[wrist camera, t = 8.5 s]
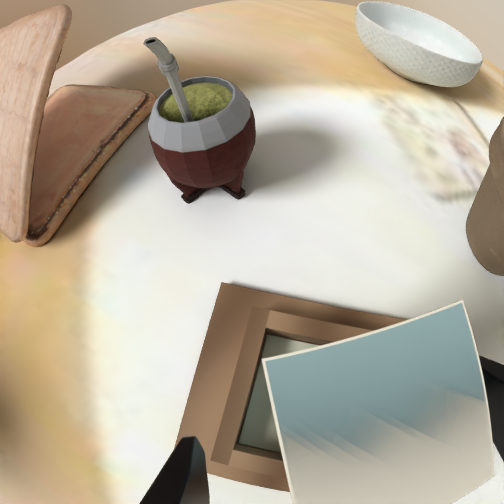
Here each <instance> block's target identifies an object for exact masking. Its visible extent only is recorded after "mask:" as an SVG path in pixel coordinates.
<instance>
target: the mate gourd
mask: <svg viewBox="0 0 504 504" xmlns="http://www.w3.org/2000/svg"><path fill="white" fill-rule="evenodd" d="M143 44H144V45H146V46H147V47H148V48H149V49H150V50H151V51H152V52H153V53H154V54H155V55H156V56H157V57H158V62H157V63H158V66H159V67H160V70H161V72H162V74H163V75H164V76H165V77H167V80H168V82H169V85H170V88H168V89H166V90H165V91H164V92H163V93H162V94H161V95H160V96H159V98H158V99H157V100H156V101H155V103H154V106H153V108H152V112H151V115H150V119H149V122H148V130H149V138H150V141H151V144H152V147H153V150H154V153H155V156H156V159H157V161H158V162H159V164H160V166H161V167H162V168H163V170H164V171H165V172H166V174H167V175H168V177H169V178H170V180H171V182H172V183H173V184H174V185H175V186H176V187H177V188H178V189H180V190H181V191H182V192H183V193H184V194H183V195H182V196H181V197H182V198H183V200H184V201H185V202H186V203H191V202H192V201H193V200H194V199H196V198H197V197H198V196H199V195H200V194H201V193H202V192H204V191H205V190H206V189H207V188H210V187H217V186H219V187H221V188H222V189H224V190H225V191H226V192H228V193H229V194H230V195H232V196H233V197H235V198H236V199H238V200H239V199H241V198H242V197H243V196H244V195H245V190H244V189H242V188H241V183H242V178H243V169H244V168H245V166H246V164H247V162H248V160H249V157H250V155H251V153H252V150H253V147H254V144H255V137H256V130H255V119H254V114H253V111H252V108H251V106H250V102H249V100H248V99H247V98H246V97H245V95H244V94H243V93H242V92H241V91H240V90H239V88H238V87H237V86H235V85H234V84H233V83H231V82H229V81H227V80H225V79H222V78H220V77H211V76H201V77H194V78H189V79H186V80H184V81H181V82H180V79H179V76H178V73H177V72H178V69H179V67H178V64H177V61H176V59H175V57H174V56H173V55H172V54H170V52H169V51H168V49H167V47H166V46H165V45H164V44H163V43H162V42H161V41H160V40H159V39H157V38H156V37H152V38H148V39H146V40H145V41H144V43H143Z"/></svg>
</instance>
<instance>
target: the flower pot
mask: <svg viewBox="0 0 504 504" xmlns="http://www.w3.org/2000/svg"><path fill="white" fill-rule="evenodd" d="M489 160H490V165H489V167H488V170H487V172H486V174H485V177H484V179H483V181H482V183H481V186H480V188H479V190H478V192H477V195H476V197H475V200H474V202H473V204H472V207H471V209H470V212H469V214H468V217H467V221H466V234H467V239H468V242H469V245H470V248H471V250H472V252H473V254H474V256H475V257H476V259H477V260H478V261H479V263H480V264H481V265H482V266H483V267H484V268H485V269H487V270H488V271H489V272H491V273H493V274H496V275H504V117H503V118H502V120H501V122H500V124H499V126H498V127H497V129H496V130H495V132H494V134H493V135H492V137H491V140H490V145H489Z"/></svg>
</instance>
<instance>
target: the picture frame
mask: <svg viewBox="0 0 504 504" xmlns="http://www.w3.org/2000/svg"><path fill="white" fill-rule="evenodd" d="M403 321H406V320H404V319H398V318H393V317H387V316H382V315H376V314H371V313H365V312H360V311H355V310H350V309H345V308H340V307H334V306H329V305H324V304H320V303H315V302H310V301H305V300H300V299H295V298H291V297H286V296H281V295H277V294H272V293H267V292H263V291H258V290H254V289H249V288H245V287H241V286H236V285H232V284H227V283H223V282H222V283H221V286H220V289H219V293H218V296H217V299H216V303H215V306H214V310H213V313H212V316H211V320H210V323H209V327H208V330H207V333H206V337H205V340H204V344H203V347H202V351H201V354H200V358H199V361H198V365H197V368H196V372H195V375H194V379H193V382H192V386H191V389H190V393H189V396H188V400H187V404H186V407H185V411H184V415H183V418H182V422H181V425H180V429H179V433H178V437H177V440H176V444H175V447H176V445H177V444H178V442H179V441H180V439H181V438H182V437H184V436H196V437H197V439H198V440H199V442H200V444H201V446H202V447H203V449H204V452H205V459H206V469H207V473H209V474H213V475H216V476H220V477H223V478H227V479H231V480H234V481H238V482H242V483H247V484H251V485H256V486H260V487H265V488H270V489H275V490H281V491H287V492H290V489H289V485H288V480H287V476H286V471H285V466H284V462H283V457H282V453H281V448H280V444H279V439H278V434H277V430H276V425H275V420H274V416H273V411H272V406H271V402H270V397H269V392H268V387H267V383H266V378H265V373H264V368H263V363H262V359H264V358H269V357H274V356H278V355H283V354H288V353H292V352H296V351H301V350H305V349H309V348H313V347H317V346H321V345H325V344H329V343H333V342H336V341H340V340H344V339H347V338H351V337H354V336H358V335H361V334H365V333H368V332H372V331H375V330H378V329H381V328H385V327H388V326H391V325H394V324H397V323H400V322H403ZM174 449H175V448H174Z"/></svg>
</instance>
